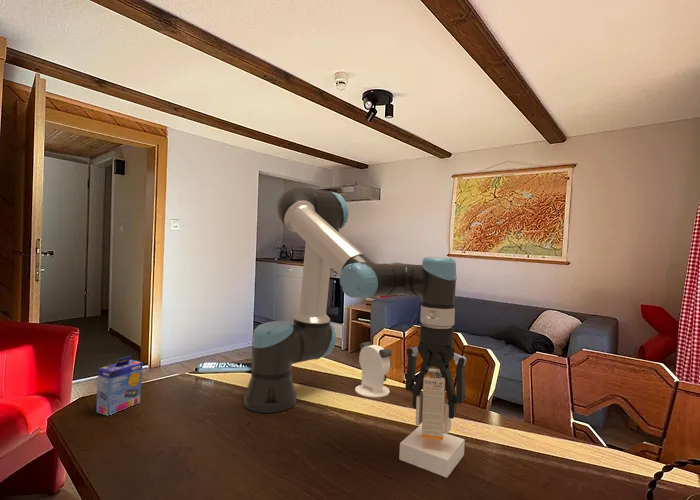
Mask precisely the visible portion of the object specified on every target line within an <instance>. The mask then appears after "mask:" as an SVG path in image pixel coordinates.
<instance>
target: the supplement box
mask: <svg viewBox="0 0 700 500" xmlns="http://www.w3.org/2000/svg"><path fill="white" fill-rule="evenodd" d="M422 393H423V412H422V423H421V426H422V437H423V438H428V439H435V440H443V433H444V414H445V403H446V390H445V378H443V377H442V374H441V373H440V369H439V368H429V370H428V372H426V373H425V374H424V380H423V387H422Z"/></svg>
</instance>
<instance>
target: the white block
mask: <svg viewBox="0 0 700 500" xmlns="http://www.w3.org/2000/svg"><path fill="white" fill-rule="evenodd" d="M464 456H465V439H464V438H463V437H462V438H461V437H459V436H456V435H451V434H449V433H448V434H445V433H444V432H443V440H435V439H428V438H423V437H422V424H420V425H419V426H418V427H416V429H414V430H413V431H412V432H411V433H410V434H408V436H406V437H405V438H404V439H403V440H402V441H401V442H400V443H399V456H398V457H399V459H398V460H400V461H403V462H404V463H407V464H410V465H413V466H415V467H418V468H420V469H424V470H426V471H429V472H431V473H433V474H436V475H438V476H440V477H444V478H448V477H449V476H450V475H451V473H452V472H453V471H454V469H455V468H456V467H457V465H458V464H459V462H460V461H461V460H462V458H463V457H464Z"/></svg>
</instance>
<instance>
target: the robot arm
mask: <svg viewBox="0 0 700 500" xmlns="http://www.w3.org/2000/svg"><path fill="white" fill-rule="evenodd" d="M276 213H277V216H278V218H279V221H280V223H282V225H284V227H285V228H286V229H287V230H289V231H290V232H293V233H297V234H298V235H299V236H300V238H302V239H303V241H305V244H304V245H305V249H304V259H303V267H302V278H301V279H302V280H301V290H300V300H299V302H300V303H299V311H298V312H297V313H296V314H295V315H293V323H292V322H291V321H288V320H278V321H277V320H274V321H273V320H271V321H268V322H265V323H261V324H259V325H257V326H256V328H255V329H254V330H253V334H252V340H251V346H252V347H251V349H252V350H251V351H252V352H251V374H250V375H251V376H250V380H249V383H248V386H247V389H246V392H245V393H244V397H243V398H244V399H243V400H244V401H243V405H244V407H245V408H246V409H247V410H249V411H251V412H255V413H260V414H261V413H263V414H264V413H265V414H268V413H269V414H270V413H271V414H273V413H279V412H283V411H286V410H289V409H291V408H293V407H294V406H295V405H296V404H297V392H296V390H295V387H294V382H293V378H292V367H293V366H292V365H293V364H298V363H302V362H306V361H307V362H308V361H313V360H314V361H315V360H319V359H322V358H324V357H327V356H328V355H329V354H331V353H332V352H333V350H334V348H335V345H336V342H337V341H336V340H337V333H336V331H335V327H334V325H333V324H332V322H331V317H329V315H328V314H327V309H328V308H327V306H328V298H329V297H328V296H329V287H330V277H331V268H332V270H334V272H336V273H337V274H338V276H339V285H340V286H341V289H342V292H343V293H344V295H346V296H348V297H349V298H355V299H356V298H357V299H358V298H359V299H368V298H375V297H377V298H378V297H384V296H385V297H386V296H400V295H405V296H414V297H420V302H421V304H420V323H421V324H420V325H419V343H418V346H409V347H408V348H407V349H406V355H407V365H406V367H407V368H406V377H405V388H404V389H405V390H406V391H408V392H410V393H411V394H412V408H413V409H415V425H416V426H418V427H419V426H420V425H422V412H423V380H424V374H425V373H426V372H428V370H429V369H430V367H435V368H436V369H440V373H441V374H442V377H443V378H445V395H446V397H447V401H445V413H444V428H443V433H445V434H449V432H450V431H451V430H452V420H454V418H455V417H456V415H457V404H459V405H460V404H462V403H463V402H464V401H465V400H466V377H465V376H466V373H465V371H466V370H465V369H466V367H465V366H466V363H467V361H468V357H467V356H466V355H460V354H459V353H456V350H455V348H454V341H455V339H454V338H455V336H454V335H455V328H454V327H453V326H454V325H455V318H456V317H455V315H456V314H455V312H456V309H455V307H456V306H455V305H456V304H455V302H456V301H455V300H456V286H457V284H456V283H457V262H456V260H455V259H454V258H451V257H436V256H433V257H432V256H426V257H424V258H423V259H422V264H412V263H403V262H389V263H376V262H373V260H371V259H370V258H369V257H367V256H366V255H365V254H364V253H362V251H360V250H359V249H358V248H357V247H356V246H355V245H353V244H352V243H351V242H350V241H349V240H348V239H347V238H345V237H344V236H343V235H342V234H341V233H340V230H341V229H342V228H344V227H345V225H346V223H347V222H348V221H349V220H348V219H349V207H348V203H347V201H346V200H345V198H344V197H343V196H342V195H341V194H339V193H337V192H334V191H330V190H324V189H319V188H311V187H306V186H294V187H290V188H288V189H286V190H285V191H284V192H283V193H282V194H281V195H280V197H279V198H278V200H277V204H276ZM419 355H420V357H421V358H422V361H421V364H420V370H419V372H418V375H417V377H416V370H417V360H418V359H417V356H419ZM452 360H454V364H455V365H456V367H455V379H456V381H455V383H456V384H455V385H456V387H455V385H454V380H453V377H452V374H451V367H450V362H451V361H452ZM415 378H416V379H415ZM415 380H416V381H415ZM455 388H456V389H455Z"/></svg>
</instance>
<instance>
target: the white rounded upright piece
mask: <svg viewBox="0 0 700 500" xmlns="http://www.w3.org/2000/svg"><path fill="white" fill-rule="evenodd" d="M359 348H360V352H359V357H358V360H359V362H358V363H359V366H360V369H361V384H359V385H357V386H356V387H355V388H354V389H355V390H354V391H355V393H356V394H357V395H360V396H363V397H366V398H373V399H374V398H375V399H376V398H384V397H387V396H388V395H389V394H390V393H391V392H390V388H388V387H387V386H385V385H384V382H386V381H387V374H388V373H389V371H390V369H391V368H392V367H391V365H392V361H391V360H392V359H391V356H392V355H393V353H392V350H391V348H389V347H388V348H384V347H382V346H380V345H377V344H372V343H371V341H366V342H360V344H359Z"/></svg>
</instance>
